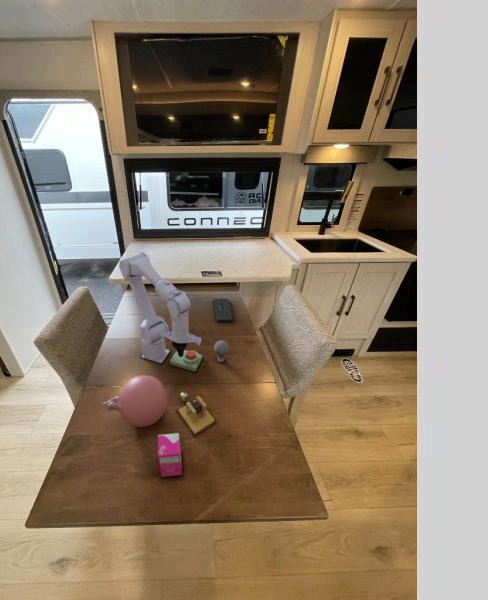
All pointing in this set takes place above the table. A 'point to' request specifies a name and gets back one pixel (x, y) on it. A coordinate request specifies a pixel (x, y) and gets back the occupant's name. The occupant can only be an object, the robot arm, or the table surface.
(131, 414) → the balloon
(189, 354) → the button
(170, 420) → the table surface
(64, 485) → the table surface
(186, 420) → the switch bracket
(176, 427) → the table surface
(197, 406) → the lever
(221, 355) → the light bulb
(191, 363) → the button block
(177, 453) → the supplement box
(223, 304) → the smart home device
